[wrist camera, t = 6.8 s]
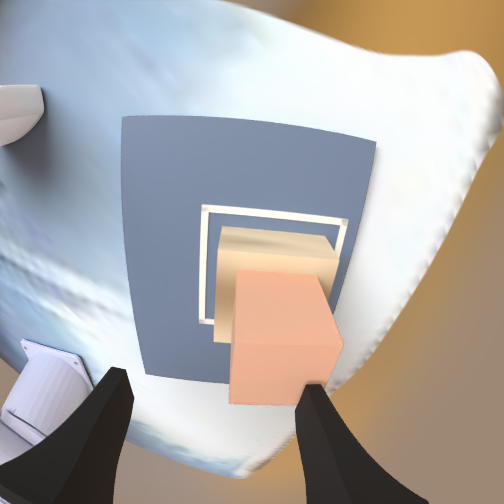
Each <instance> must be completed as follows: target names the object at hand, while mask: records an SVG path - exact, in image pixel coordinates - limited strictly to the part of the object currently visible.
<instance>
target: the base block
mask: <svg viewBox="0 0 504 504" xmlns="http://www.w3.org/2000/svg"><path fill="white" fill-rule="evenodd" d="M339 261H340V260H339V258H338V256H337V255H336V253H335V251H334V250H333V248H332V246H331V245H330V243H329V241H328V240H327V238H326V237H325V236H322V235H312V234H302V233H292V232H282V231H271V230H261V229H249V228H238V227H226V226H222V230H221V235H220V241H219V246H218V255H217V273H216V293H215V315H214V342H222V343H231V334H232V321H233V309H234V298H235V287H236V276H237V269H239V270H251V271H264V272H277V273H291V274H305V275H317V277H318V280H319V282H320V285H321V287H322V290H323V292H324V295H325V297H326V300H327V302H328V299H329V296H330V293H331V289H332V286H333V282H334V279H335V275H336V272H337V268H338V264H339Z"/></svg>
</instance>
